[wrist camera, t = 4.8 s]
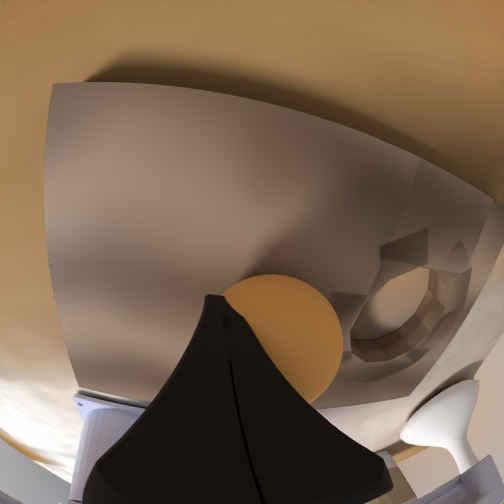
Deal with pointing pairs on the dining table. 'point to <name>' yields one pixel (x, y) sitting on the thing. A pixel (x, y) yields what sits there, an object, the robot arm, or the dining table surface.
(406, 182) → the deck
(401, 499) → the coffee cup
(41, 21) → the dining table surface
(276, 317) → the ball
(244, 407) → the robot arm
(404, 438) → the flower in vase
